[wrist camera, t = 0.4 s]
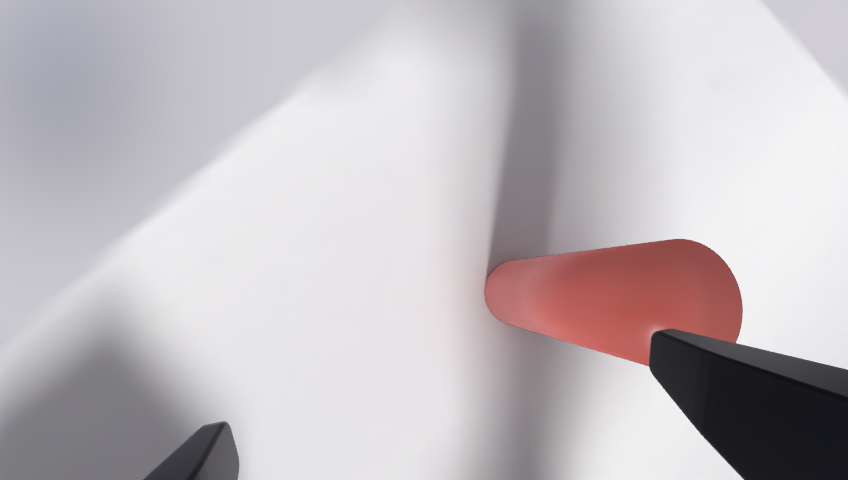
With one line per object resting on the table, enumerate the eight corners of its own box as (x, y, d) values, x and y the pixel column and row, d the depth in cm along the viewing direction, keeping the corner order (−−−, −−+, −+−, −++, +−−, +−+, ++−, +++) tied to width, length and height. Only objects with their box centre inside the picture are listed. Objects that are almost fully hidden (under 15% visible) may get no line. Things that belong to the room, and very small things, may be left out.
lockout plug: (544, 327, 25) (743, 377, 12) (482, 323, 24) (622, 372, 11) (547, 262, 25) (741, 245, 12) (486, 257, 25) (624, 233, 12)
